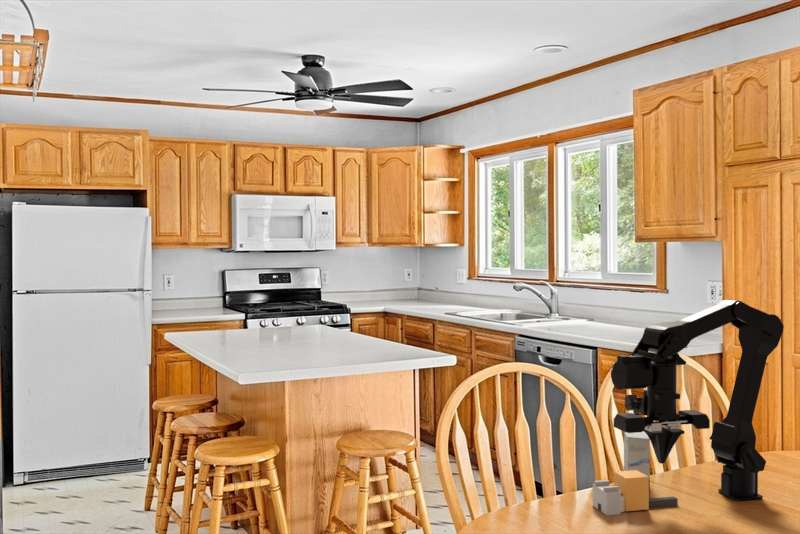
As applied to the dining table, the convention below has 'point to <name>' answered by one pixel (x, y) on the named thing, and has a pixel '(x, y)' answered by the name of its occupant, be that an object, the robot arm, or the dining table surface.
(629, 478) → the notched orange cube
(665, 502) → the bar
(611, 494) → the grey i-beam piece
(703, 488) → the dining table surface
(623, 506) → the cream flat block
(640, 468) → the ink box
